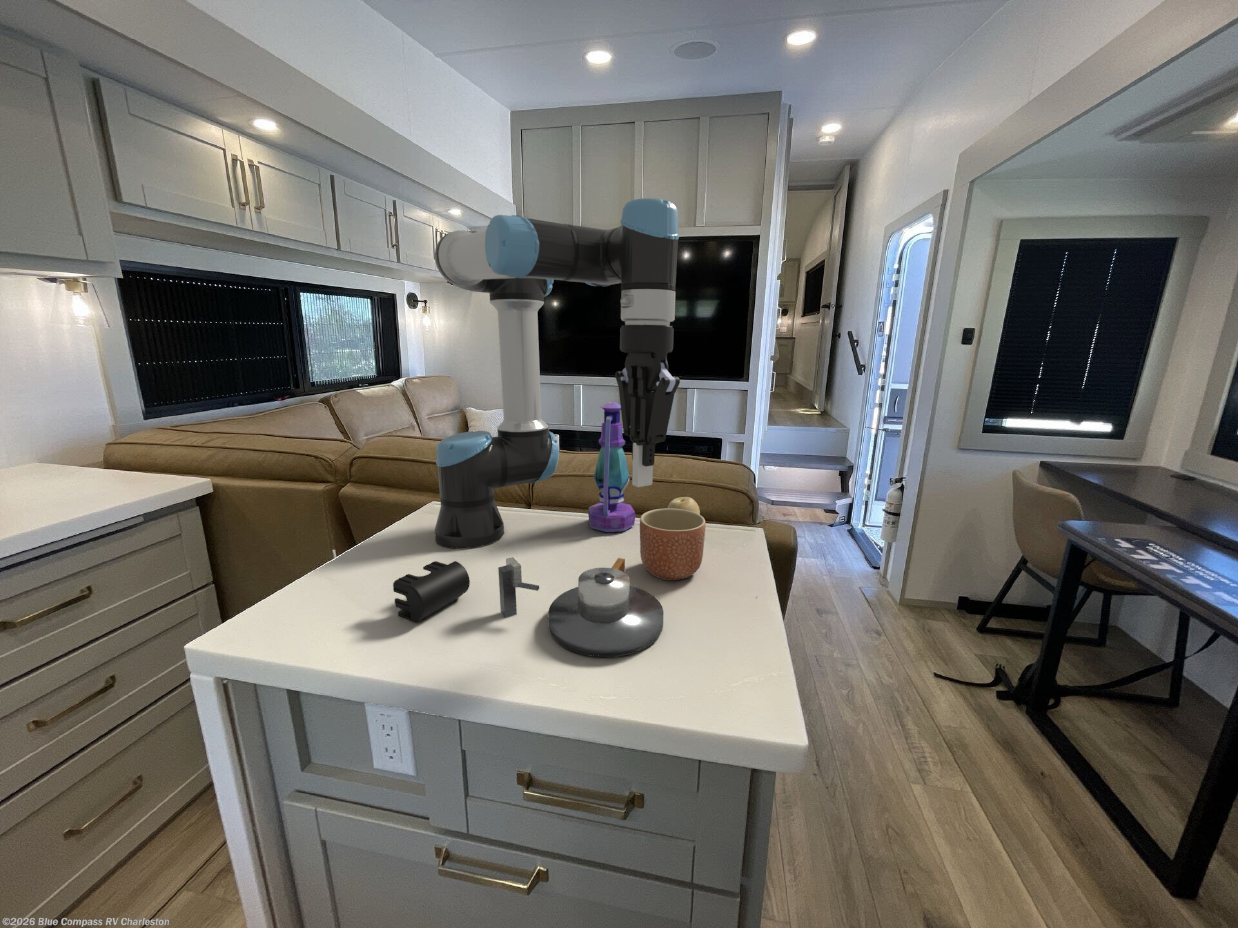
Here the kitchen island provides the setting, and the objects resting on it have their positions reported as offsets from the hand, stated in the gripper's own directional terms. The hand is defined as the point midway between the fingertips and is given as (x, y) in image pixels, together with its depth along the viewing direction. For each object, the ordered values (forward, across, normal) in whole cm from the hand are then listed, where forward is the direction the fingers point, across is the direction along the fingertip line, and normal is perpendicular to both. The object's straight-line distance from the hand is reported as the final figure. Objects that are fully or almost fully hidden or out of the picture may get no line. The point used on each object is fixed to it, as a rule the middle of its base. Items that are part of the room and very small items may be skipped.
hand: (642, 484), depth 75 cm
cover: (+20, -1, -6) cm, 21 cm away
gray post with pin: (+22, -10, -17) cm, 30 cm away
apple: (+23, -27, +32) cm, 48 cm away
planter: (+23, -9, +14) cm, 28 cm away
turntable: (+22, 0, -6) cm, 23 cm away
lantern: (+23, -36, +17) cm, 46 cm away
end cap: (+23, -19, -28) cm, 41 cm away
